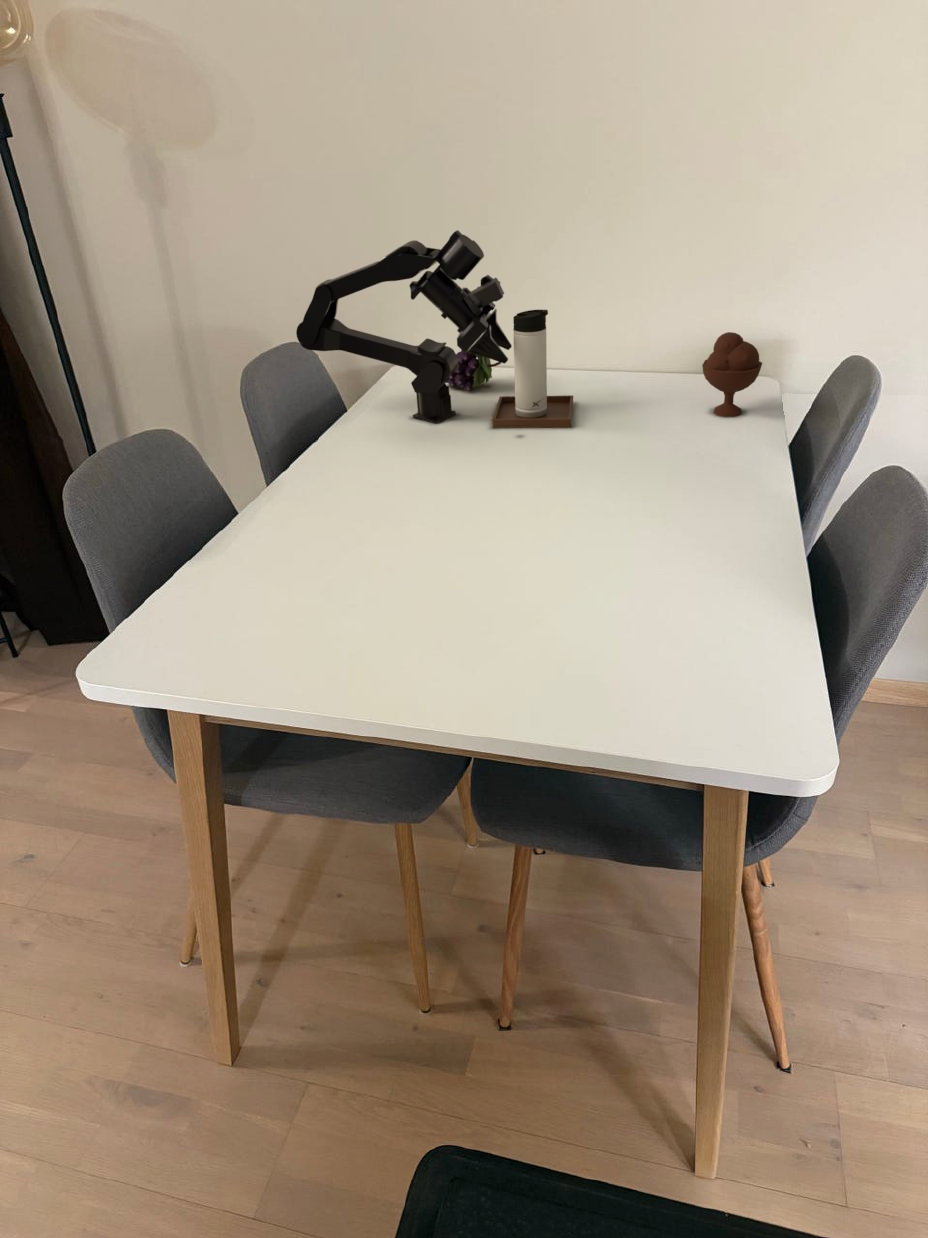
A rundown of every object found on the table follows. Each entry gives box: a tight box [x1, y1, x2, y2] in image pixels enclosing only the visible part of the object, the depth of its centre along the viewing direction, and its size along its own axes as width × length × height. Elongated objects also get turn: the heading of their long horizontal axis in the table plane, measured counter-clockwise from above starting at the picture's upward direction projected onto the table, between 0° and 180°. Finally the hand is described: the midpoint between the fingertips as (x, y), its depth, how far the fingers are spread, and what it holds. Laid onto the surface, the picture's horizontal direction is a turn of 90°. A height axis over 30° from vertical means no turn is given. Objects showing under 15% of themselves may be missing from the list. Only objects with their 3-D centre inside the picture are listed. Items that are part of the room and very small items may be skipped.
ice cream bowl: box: [701, 331, 763, 418], centre depth 172 cm, size 11×11×15 cm
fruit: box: [445, 349, 502, 392], centre depth 195 cm, size 10×11×15 cm
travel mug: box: [512, 309, 549, 418], centre depth 175 cm, size 6×7×20 cm
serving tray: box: [491, 394, 574, 429], centre depth 180 cm, size 15×14×2 cm
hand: (508, 354), depth 175 cm, fingers open, 9 cm apart
